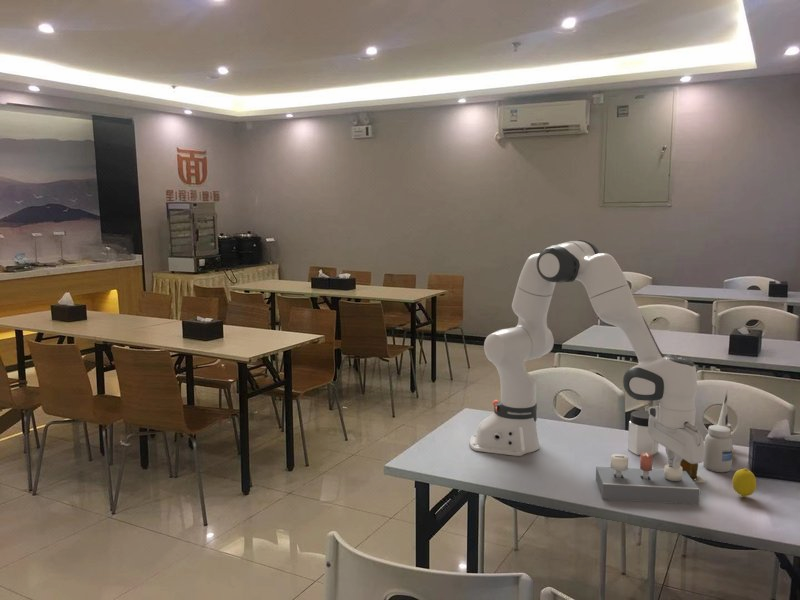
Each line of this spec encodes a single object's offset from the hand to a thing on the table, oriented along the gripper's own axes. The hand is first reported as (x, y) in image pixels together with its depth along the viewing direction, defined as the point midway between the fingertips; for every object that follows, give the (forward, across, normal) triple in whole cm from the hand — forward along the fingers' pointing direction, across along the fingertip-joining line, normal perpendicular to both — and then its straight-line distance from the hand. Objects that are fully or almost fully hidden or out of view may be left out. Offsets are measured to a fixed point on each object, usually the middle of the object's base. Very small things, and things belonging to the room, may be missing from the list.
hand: (673, 466), depth 171 cm
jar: (+8, +29, -8) cm, 31 cm away
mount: (+8, +2, +7) cm, 10 cm away
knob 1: (+5, +4, +13) cm, 15 cm away
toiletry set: (+8, +20, -28) cm, 35 cm away
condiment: (+8, +9, -10) cm, 16 cm away
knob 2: (+7, 0, 0) cm, 7 cm away
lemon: (+8, -6, -17) cm, 20 cm away
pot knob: (+5, +2, +7) cm, 9 cm away
